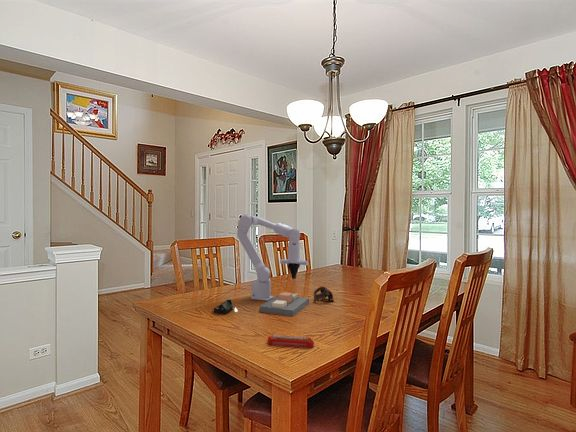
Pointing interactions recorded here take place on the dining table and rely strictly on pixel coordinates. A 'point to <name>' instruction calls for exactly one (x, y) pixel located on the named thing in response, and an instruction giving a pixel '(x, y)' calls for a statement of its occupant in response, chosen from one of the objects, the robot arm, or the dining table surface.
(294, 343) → the candy bar
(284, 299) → the terracotta key
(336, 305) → the dining table surface
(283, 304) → the cream key
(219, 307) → the black lumpy piece
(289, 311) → the grey rectangular frame
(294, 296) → the sage key
